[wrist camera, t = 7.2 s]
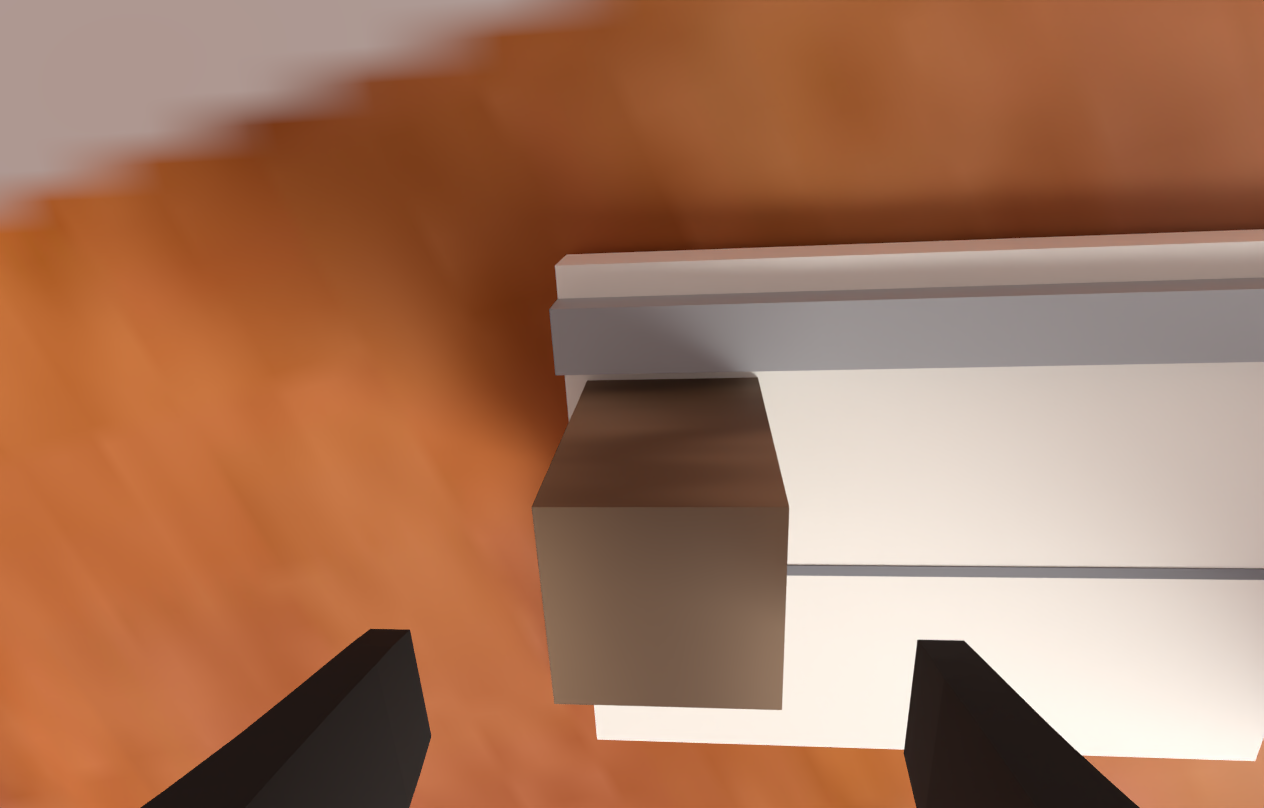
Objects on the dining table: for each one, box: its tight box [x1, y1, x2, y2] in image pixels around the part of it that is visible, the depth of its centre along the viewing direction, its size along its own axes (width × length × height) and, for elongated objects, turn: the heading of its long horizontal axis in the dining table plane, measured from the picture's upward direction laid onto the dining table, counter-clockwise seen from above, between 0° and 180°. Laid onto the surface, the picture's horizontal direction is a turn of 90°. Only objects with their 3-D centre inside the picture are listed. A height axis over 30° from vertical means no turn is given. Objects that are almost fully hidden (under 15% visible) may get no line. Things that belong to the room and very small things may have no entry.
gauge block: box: [532, 377, 789, 710], centre depth 14 cm, size 4×4×6 cm
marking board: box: [549, 229, 1264, 761], centre depth 18 cm, size 18×14×2 cm
